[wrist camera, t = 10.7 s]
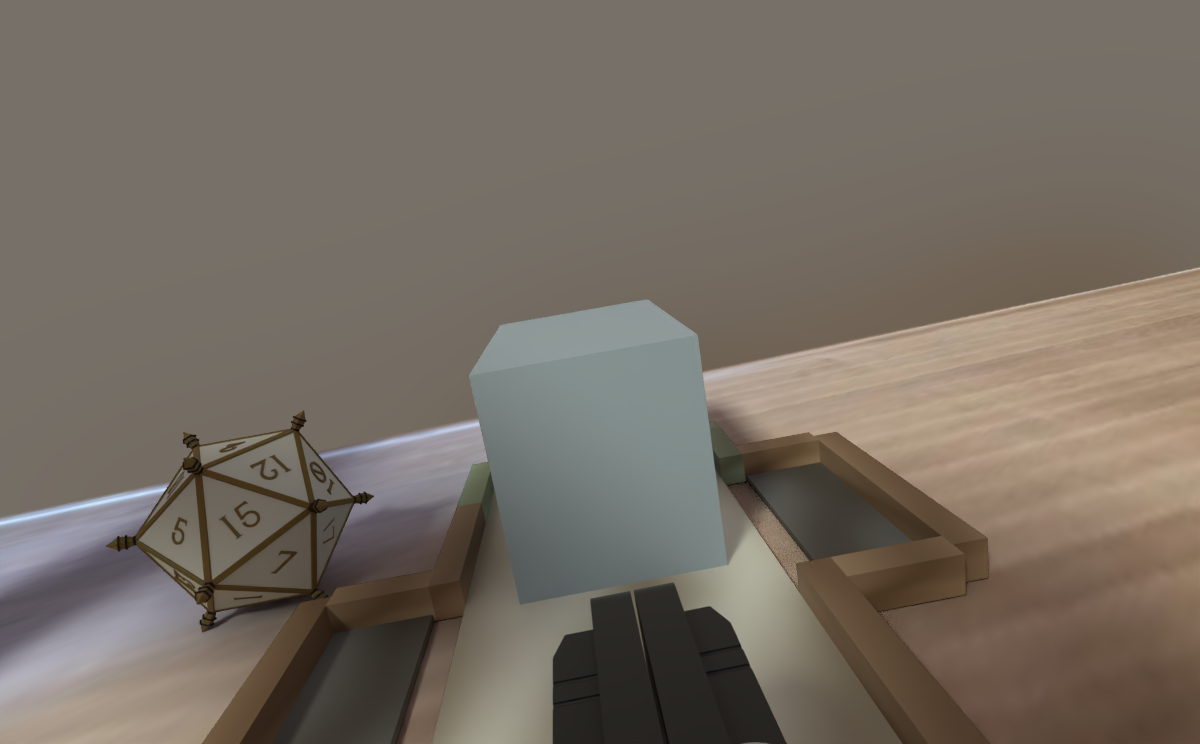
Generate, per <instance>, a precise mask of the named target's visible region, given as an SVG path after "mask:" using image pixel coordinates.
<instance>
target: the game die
mask: <svg viewBox="0 0 1200 744" xmlns="http://www.w3.org/2000/svg"><path fill="white" fill-rule="evenodd" d="M293 418H294V419H293V421H291V422H292V427H291V429H287V430H281V431H276V432H270V433H265V434H259V435H254V436H248V437H243V438H237V439H232V440H227V441H220V442H215V443H210V444H204V445H199V439H197V438H196V435H191V434H187V433H184V439H183V444H186V445H187V448H191V449H192V451H191V452H190V454H189V456H188V457H187V458H184V462H183V465H182V466H181V468H180V469H179V471H178V472H177V474H176V475H175V477H174V478H173V480H172V481H171V483H170V484H169V486H168V487H167V489H166V490H165V492H164V493H163V495H162V497H161V498H160V500H159V501H158V503H157V504H156V506H155V507H154V509H153V510H152V512H151V513H150V515H149V516H148V518H147V519H146V521H145V522H144V524H143V525H142V527H141V528H140V530H139V531H138V533H137V534H136V536H134V537H127V535H125V537H119V536H117V539H115V540H114V541H112V542H111V543H110V544H108V545H107V546H106V547H110V548H113V549H116V550H118V551H120V550H121V549H126V550H127V549H128V548H129V547H131V546H133V545H137V546H138V547H139V548H140V549H141V550H142V551H143V552H144V553H145V554H146V555H148V556H149V557H150V558H151V559H152V560H153V561H154V562H155V563H156V564H157V565H158V566H159V567H161V568H162V569H163V570H164V571H165V572H166V573H167V574H168V575H169V576H170V577H171V578H173V579H174V580H175V581H176V582H177V583H178V584H179V585H180V586H181V587H182V588H183V589H184V590H186V591H187V592H188V593H189V594H190V595H191V596H192V597H193V598H194V599H195V601H197V605H198V604H201V605H202V606H203V607H204V608H205V609H206V610H207V612H206V613H205V614H203V618H202V620H200V625H201V628H202V632H203V631H205V630H206V629H207V628H209V627H210V626H212V625H214V623H213V622H214V620H215V619H216V617H215V615H216V612H219V611H225V610H230V609H235V608H240V607H245V606H251V605H256V604H261V603H266V602H271V601H276V600H282V599H287V598H292V597H297V596H302V595H308V594H310V595H311V596H312V598H313V600H316V599H322V598H327V595H325V594H324V591H320V590H318V585H319V583H320V581H321V579H322V576H323V574H324V572H325V569H326V567H327V565H328V562H329V560H330V558H331V556H332V553H333V551H334V549H335V546H336V544H337V542H338V540H339V537H340V535H341V533H342V530H343V528H344V526H345V524H346V521H347V519H348V517H349V514H350V512H351V510H352V507H353V505H354V504H355V503H360V505H361V504H362V503H365V504H367V502H368V501H369V500H370V499H371V498H373V497H374V496H373V495H370V494H367V493H366V492H364V493H361V494H360V493H359V494H358V495H356V496H353V495H352V494H351V493H350V492H349V491H348V489H347V488H346V487H345V486H344V485H343V483H342V482H341V481H340V480H339V479H338V477H337V476H336V475H335V474H334V473H333V472H332V470H331V469H330V468H329V467H328V466H327V464H326V463H325V462H324V461H323V460H322V458H321V457H320V456H319V455H318V454H317V453H316V451H315V450H314V449H313V448H312V447H311V445H310V444H309V443H308V442H307V441H306V440H305V438H304V437H303V436H302V435H301V434H300V432H299V430H300V428H301V427H303V426H304V425H303V424H304V422H306V420H305V414H304V411H302V412H301V413H299V414H298V415H296V416H293Z"/></svg>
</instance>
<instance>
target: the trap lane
mask: <svg viewBox="0 0 1200 744" xmlns="http://www.w3.org/2000/svg"><path fill="white" fill-rule="evenodd" d="M709 427H710V434H711V442H712V449H713V457H714V465H715V472H716V480H717V488H718V495H719V503H720V510H721V518H722V526H723V533H724V541H725V549H726V556H727V564H728V565H726V566H721V567H715V568H710V569H705V570H700V571H694V572H689V573H684V574H679V575H673V576H668V577H663V578H657V579H652V580H647V581H642V582H636V583H631V584H626V585H620V586H615V587H610V588H605V589H599V590H594V591H589V592H584V593H578V594H573V595H568V596H562V597H557V598H552V599H547V600H541V601H536V602H531V603H526V604H520V602H519V598H518V593H517V589H516V584H515V580H514V575H513V571H512V566H511V562H510V557H509V553H508V548H507V544H506V539H505V535H504V530H503V526H502V521H501V517H500V512H499V508H498V504H497V499H496V495H495V490H494V486H493V481H492V477H491V472H490V468H489V463H488V462H485V463H479V464H474V465H472V467H471V470H470V473H469V476H468V478H467V481H466V484H465V487H464V489H463V492H462V495H461V497H460V500H459V503H458V506H457V508H456V511H455V514H454V517H453V519H452V522H451V525H450V528H449V530H448V533H447V536H446V538H445V541H444V544H443V547H442V549H441V552H440V555H439V558H438V560H437V563H436V566H435V569H434V570H430V571H424V572H419V573H414V574H408V575H403V576H398V577H392V578H387V579H382V580H376V581H371V582H366V583H360V584H355V585H350V586H344V587H339V588H336V590H335V592H334V593H333V595H332V596H331V597H327V598H322V599H316V600H311V601H306V602H300V604H299V605H298V607H297V608H296V609H295V611H294V612H293V614H292V615H291V617H290V618H289V620H288V621H287V622H286V624H285V625H284V627H283V628H282V630H281V631H280V632H279V634H278V635H277V637H276V638H275V640H274V641H273V642H272V644H271V645H270V647H269V648H268V650H267V651H266V653H265V654H264V655H263V657H262V658H261V660H260V661H259V663H258V664H257V665H256V667H255V668H254V670H253V671H252V673H251V674H250V675H249V677H248V678H247V680H246V681H245V683H244V684H243V685H242V687H241V688H240V690H239V691H238V693H237V694H236V696H235V697H234V698H233V700H232V701H231V703H230V704H229V706H228V707H227V708H226V710H225V711H224V713H223V714H222V716H221V717H220V718H219V720H218V721H217V723H216V724H215V726H214V727H213V728H212V730H211V731H210V733H209V734H208V736H207V737H206V739H205V740H204V741H203V743H202V744H396V741H397V737H398V734H399V731H400V728H401V725H402V722H403V718H404V715H405V712H406V709H407V706H408V703H409V699H410V696H411V693H412V690H413V687H414V684H415V680H416V677H417V674H418V671H419V668H420V665H421V662H422V658H423V655H424V652H425V649H426V646H427V643H428V639H429V636H430V633H431V630H432V627H433V624H434V621H438V620H443V619H449V618H454V617H459V616H463V618H462V622H461V626H460V630H459V634H458V638H457V642H456V646H455V650H454V654H453V658H452V662H451V667H450V671H449V675H448V679H447V683H446V687H445V691H444V695H443V699H442V703H441V707H440V711H439V715H438V720H437V724H436V728H435V732H434V736H433V740H432V744H553V657H554V655H555V653H556V651H557V649H558V647H559V645H560V643H561V641H562V639H563V638H564V636H565V635H567V634H572V633H577V632H582V631H587V630H592V629H593V624H592V614H591V604H590V599H591V598H596V597H601V596H607V595H612V594H617V593H622V592H627V591H630V592H631V597H632V601H633V606H634V610H635V615H636V619H637V624H638V629H639V633H640V638H641V642H642V636H641V631H640V625H639V619H638V614H637V608H636V602H635V596H634V590H636V589H641V588H646V587H652V586H657V585H662V584H667V583H672V582H674V584H675V586H676V589H677V592H678V595H679V598H680V601H681V603H682V606H683V609H684V611H687V610H692V609H697V608H702V607H708V606H711V607H712V608H713V609H714V610H716V611H717V612H718V613H720V614H721V615H722V616H723V617H725V618H726V619H727V620H728V621H730V622H731V624H732V626H733V629H734V631H735V633H736V635H737V637H738V639H739V642H740V644H741V647H742V649H743V650H744V652H745V655H746V657H747V659H748V661H749V663H750V667H751V668H752V670H753V672H754V674H755V676H756V678H757V680H758V683H759V685H760V687H761V689H762V691H763V693H764V696H765V698H766V700H767V702H768V704H769V706H770V709H771V711H772V713H773V715H774V717H775V719H776V721H777V724H778V726H779V728H780V730H781V732H782V734H783V737H784V739H785V741H786V743H787V744H990V743H989V742H988V741H987V740H986V738H985V737H984V736H983V735H982V734H981V733H980V731H979V730H978V729H977V728H976V727H975V725H974V724H973V723H972V722H971V721H970V720H969V718H968V717H967V716H966V715H965V714H964V713H963V711H962V710H961V709H960V708H959V707H958V706H957V704H956V703H955V702H954V701H953V700H952V699H951V697H950V696H949V695H948V694H947V693H946V692H945V690H944V689H943V688H942V687H941V686H940V685H939V683H938V682H937V681H936V680H935V679H934V677H933V676H932V675H931V674H930V673H929V672H928V670H927V669H926V668H925V667H924V666H923V665H922V663H921V662H920V661H919V660H918V659H917V658H916V656H915V655H914V654H913V653H912V652H911V651H910V649H909V648H908V647H907V646H906V645H905V644H904V642H903V641H902V640H901V639H900V638H899V637H898V635H897V634H896V633H895V632H894V631H893V629H892V628H891V627H890V626H889V625H888V624H887V622H886V621H885V620H884V619H883V618H882V617H881V615H880V614H879V613H878V612H879V611H884V610H889V609H894V608H899V607H904V606H910V605H915V604H920V603H925V602H930V601H935V600H940V599H946V598H951V597H956V596H961V595H966V583H965V582H969V581H974V580H979V579H984V578H988V538H987V537H986V536H984V535H983V534H981V533H980V532H978V531H977V530H976V529H974V528H973V527H971V526H970V525H968V524H967V523H966V522H964V521H963V520H961V519H960V518H958V517H957V516H956V515H954V514H953V513H951V512H950V511H948V510H947V509H946V508H944V507H943V506H941V505H940V504H938V503H937V502H936V501H934V500H933V499H931V498H930V497H928V496H927V495H926V494H924V493H923V492H921V491H920V490H918V489H917V488H916V487H914V486H913V485H911V484H910V483H908V482H907V481H906V480H904V479H903V478H901V477H900V476H899V475H897V474H896V473H894V472H893V471H891V470H890V469H889V468H887V467H886V466H884V465H883V464H881V463H880V462H879V461H877V460H876V459H874V458H873V457H871V456H870V455H869V454H867V453H866V452H864V451H863V450H861V449H860V448H859V447H857V446H856V445H854V444H853V443H851V442H850V441H849V440H847V439H846V438H844V437H843V436H841V435H840V434H839V433H837V432H833V433H827V434H822V435H817V436H813V435H811V434H810V433H809V432H808V433H803V434H797V435H792V436H786V437H781V438H775V439H770V440H765V441H759V442H754V443H748V444H743V445H737V446H735V444H734V443H733V442H732V441H731V440H730V439H729V437H728V436H727V435H726V434H725V433H724V432H723V430H722V429H721V428H720V427H719V426H718V425H717V423H716V422H715V421H710V422H709ZM746 481H748V482H749V483H750V485H751V486H752V487H753V488H754V490H755V491H756V492H757V494H758V495H759V496H760V497H761V499H762V500H763V501H764V503H765V504H766V505H767V506H768V508H769V509H770V510H771V511H772V513H773V514H774V515H775V517H776V518H777V519H778V520H779V522H780V523H781V524H782V526H783V527H784V528H785V529H786V531H787V532H788V533H789V535H790V536H791V537H792V538H793V540H794V541H795V542H796V544H797V545H798V546H799V547H800V549H801V550H802V551H803V552H804V554H805V555H806V556H807V558H808V559H809V560H810V561H807V562H802V563H797V564H796V566H797V576H798V586H799V591H798V590H797V588H796V587H795V585H794V584H793V582H792V581H791V579H790V578H789V576H788V575H787V574H786V572H785V571H784V569H783V568H782V566H781V565H780V563H779V562H778V560H777V559H776V557H775V556H774V554H773V553H772V552H771V550H770V549H769V547H768V546H767V544H766V543H765V541H764V540H763V538H762V537H761V535H760V534H759V532H758V531H757V530H756V528H755V527H754V525H753V524H752V522H751V521H750V519H749V518H748V516H747V515H746V513H745V512H744V510H743V509H742V508H741V506H740V505H739V503H738V502H737V500H736V499H735V497H734V496H733V494H732V493H731V491H730V490H729V488H728V487H727V486H726V485H729V484H735V483H740V482H746ZM642 647H643V642H642ZM643 651H644V648H643ZM644 656H645V654H644ZM645 661H646V659H645Z"/></svg>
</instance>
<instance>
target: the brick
mask: <svg viewBox="0 0 1200 744" xmlns="http://www.w3.org/2000/svg"><path fill="white" fill-rule="evenodd" d="M469 378H470V382H471V386H472V391H473V396H474V400H475V405H476V409H477V414H478V418H479V423H480V427H481V432H482V436H483V441H484V445H485V450H486V454H487V459H488V463H489V468H490V472H491V477H492V481H493V486H494V490H495V495H496V499H497V504H498V508H499V512H500V517H501V521H502V526H503V530H504V535H505V539H506V544H507V548H508V553H509V557H510V562H511V566H512V571H513V575H514V580H515V584H516V589H517V593H518V598H519V602H520V604H526V603H531V602H536V601H541V600H547V599H552V598H557V597H562V596H568V595H573V594H578V593H584V592H589V591H594V590H599V589H605V588H610V587H615V586H620V585H626V584H631V583H636V582H642V581H647V580H652V579H657V578H663V577H668V576H673V575H679V574H684V573H689V572H694V571H700V570H705V569H710V568H715V567H721V566H726V565H728V564H727V556H726V549H725V541H724V533H723V526H722V518H721V510H720V503H719V495H718V488H717V480H716V472H715V465H714V457H713V449H712V442H711V434H710V427H709V419H708V411H707V404H706V396H705V388H704V381H703V373H702V366H701V358H700V351H699V343H698V335H697V334H695V333H694V332H693V331H691V330H690V329H688V328H687V327H686V326H684V325H683V324H681V323H680V322H678V321H677V320H676V319H674V318H673V317H671V316H670V315H669V314H667V313H666V312H664V311H663V310H662V309H660V308H659V307H657V306H655V305H654V304H653V303H652V302H650V301H649V300H642V301H636V302H630V303H625V304H619V305H613V306H607V307H601V308H596V309H590V310H584V311H579V312H573V313H568V314H561V315H556V316H551V317H544V318H539V319H533V320H527V321H522V322H517V323H510V324H504V325H500V327H499V329H498V330H497V332H496V333H495V335H494V337H493V338H492V340H491V341H490V343H489V344H488V346H487V348H486V349H485V351H484V352H483V354H482V356H481V357H480V359H479V360H478V362H477V364H476V365H475V367H474V368H473V370H472V371H471V373H470V375H469Z"/></svg>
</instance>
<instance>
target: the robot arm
mask: <svg viewBox="0 0 1200 744" xmlns="http://www.w3.org/2000/svg"><path fill="white" fill-rule="evenodd" d="M634 596H635V602H636V608H637V614H638V619H639V625H640V631H641V636H642V642H643V647H642V642H641V638H640V633H639V629H638V624H637V619H636V615H635V610H634V606H633V601H632V597H631V592H630V591H627V592H622V593H617V594H612V595H607V596H601V597H596V598H591V599H590V604H591V614H592V624H593V629H592V630H587V631H582V632H577V633H572V634H567V635H565V636H564V638H563V639H562V641H561V643H560V645H559V647H558V649H557V651H556V653H555V655H554V657H553V744H787V743H786V741H785V739H784V737H783V734H782V732H781V730H780V728H779V726H778V724H777V721H776V719H775V717H774V715H773V713H772V711H771V709H770V706H769V704H768V702H767V700H766V698H765V696H764V693H763V691H762V689H761V687H760V685H759V683H758V680H757V678H756V676H755V674H754V672H753V670H752V668H751V667H750V663H749V661H748V659H747V657H746V655H745V652H744V650H743V649H742V647H741V644H740V642H739V639H738V637H737V635H736V633H735V631H734V629H733V626H732V624H731V622H730V621H728V620H727V619H726V618H725V617H723V616H722V615H721V614H720V613H718V612H717V611H716V610H714V609H713V608H712V607H711V606H708V607H702V608H697V609H692V610H687V611H684V609H683V606H682V603H681V601H680V598H679V595H678V592H677V589H676V586H675V584H674V582H672V583H667V584H662V585H657V586H652V587H646V588H641V589H636V590H634ZM643 648H644V651H643ZM644 654H645V656H644ZM645 659H646V661H645Z"/></svg>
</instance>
